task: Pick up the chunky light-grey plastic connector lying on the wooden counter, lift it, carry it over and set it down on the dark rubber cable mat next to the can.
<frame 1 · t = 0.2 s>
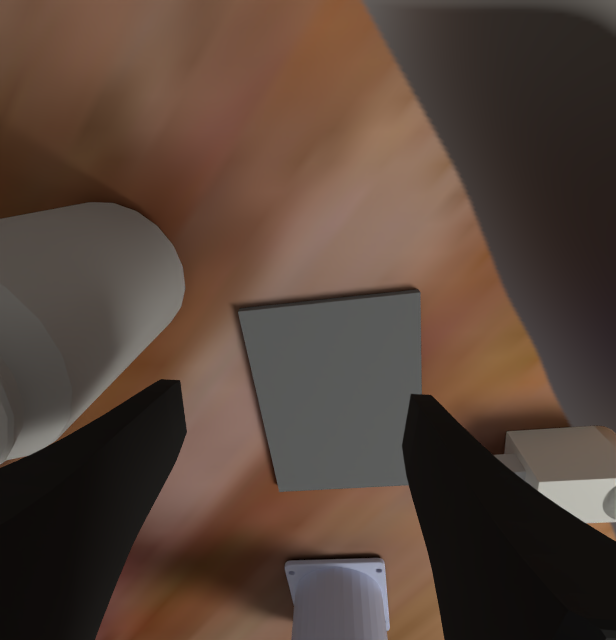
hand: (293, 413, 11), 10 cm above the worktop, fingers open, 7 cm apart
mat: (339, 401, 23), on the worktop
can: (126, 268, 21), on the worktop
connector: (546, 449, 24), on the worktop
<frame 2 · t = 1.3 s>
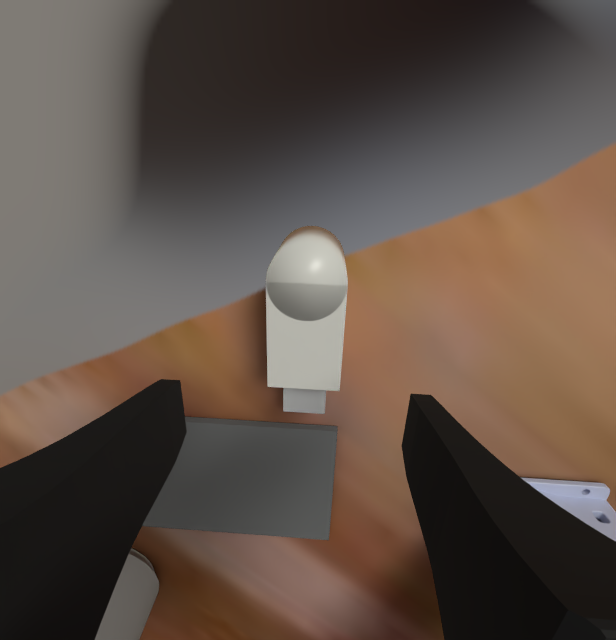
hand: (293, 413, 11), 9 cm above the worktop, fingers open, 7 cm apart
mat: (231, 477, 25), on the worktop
can: (120, 564, 30), on the worktop
connector: (309, 306, 20), on the worktop
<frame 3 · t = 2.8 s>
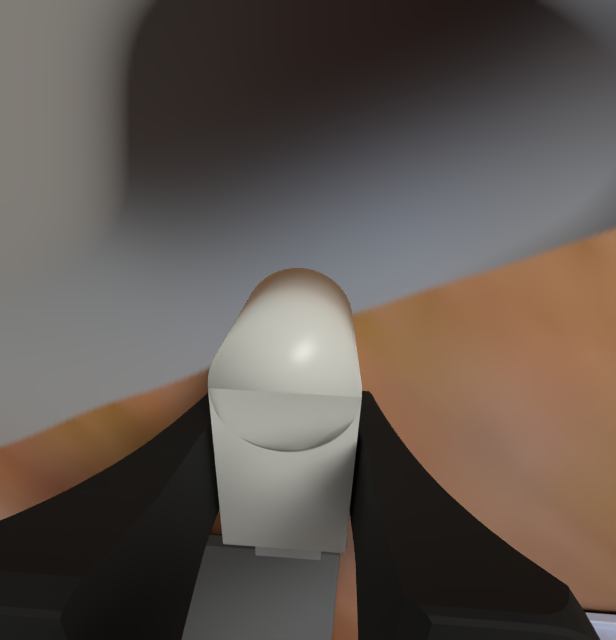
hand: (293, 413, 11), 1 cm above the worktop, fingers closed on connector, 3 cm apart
mat: (192, 600, 18), on the worktop
connector: (297, 387, 13), on the worktop, touching gripper
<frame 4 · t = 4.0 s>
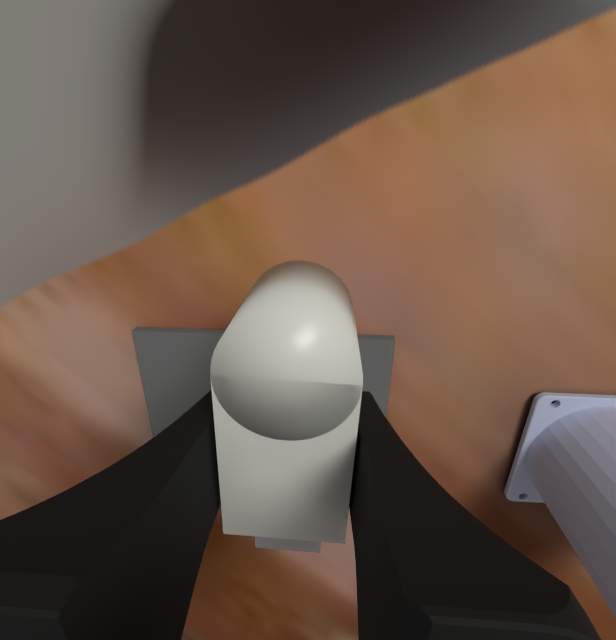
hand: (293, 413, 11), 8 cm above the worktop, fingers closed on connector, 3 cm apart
mat: (266, 406, 22), on the worktop
connector: (297, 380, 13), point 7 cm above the worktop, touching gripper
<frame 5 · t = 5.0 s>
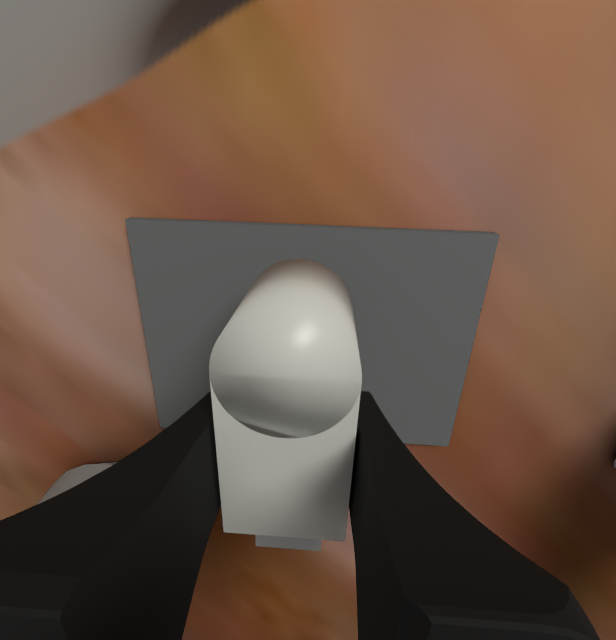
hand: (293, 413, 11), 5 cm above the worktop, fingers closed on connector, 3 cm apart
mat: (305, 340, 16), on the worktop
can: (128, 497, 21), on the worktop
connector: (297, 379, 13), point 4 cm above the worktop, touching gripper
when the fingers open (3 cm above the worktop, at t = 5.7 s): connector stays where it is, resting on mat.
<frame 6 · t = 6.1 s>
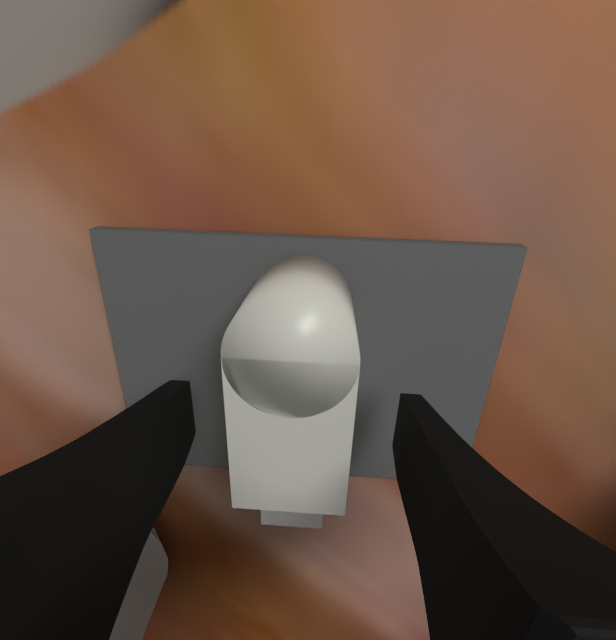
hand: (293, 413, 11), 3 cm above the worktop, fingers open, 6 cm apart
mat: (300, 365, 14), on the worktop
can: (106, 533, 19), on the worktop
connector: (300, 367, 14), resting on mat
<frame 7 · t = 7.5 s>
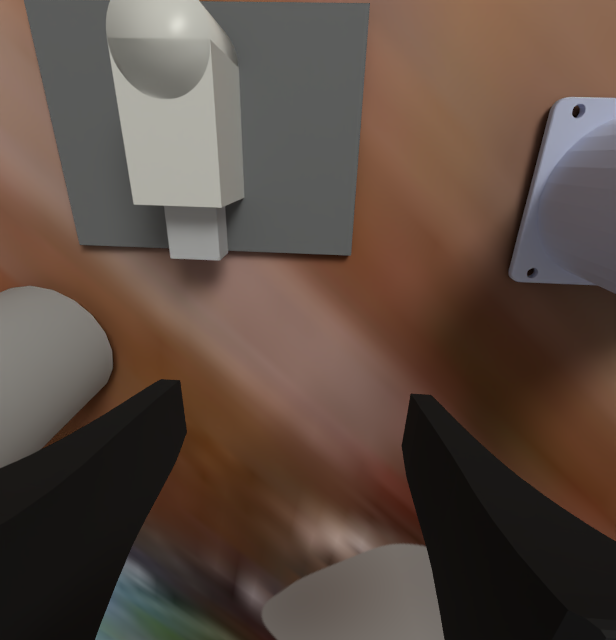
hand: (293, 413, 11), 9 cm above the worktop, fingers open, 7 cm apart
mat: (207, 141, 17), on the worktop
can: (61, 338, 22), on the worktop
connector: (204, 135, 16), resting on mat
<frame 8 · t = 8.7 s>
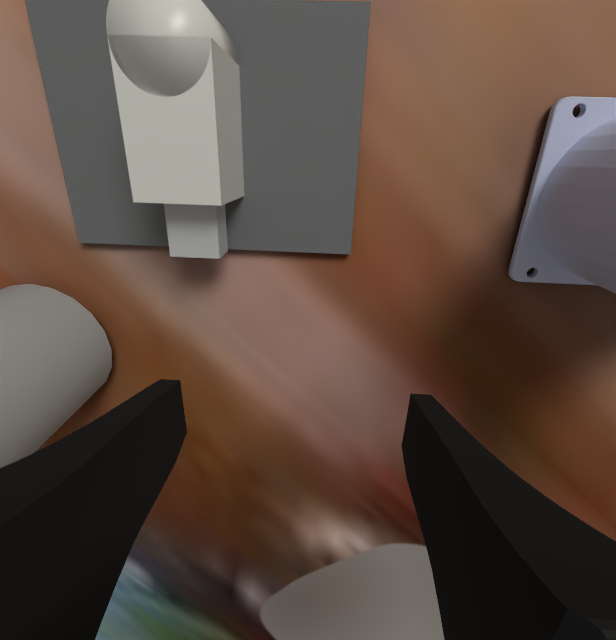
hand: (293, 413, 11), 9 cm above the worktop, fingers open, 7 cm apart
mat: (207, 139, 17), on the worktop
can: (60, 337, 22), on the worktop
connector: (204, 133, 16), resting on mat
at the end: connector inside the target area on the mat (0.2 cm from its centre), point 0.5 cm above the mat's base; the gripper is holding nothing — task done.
